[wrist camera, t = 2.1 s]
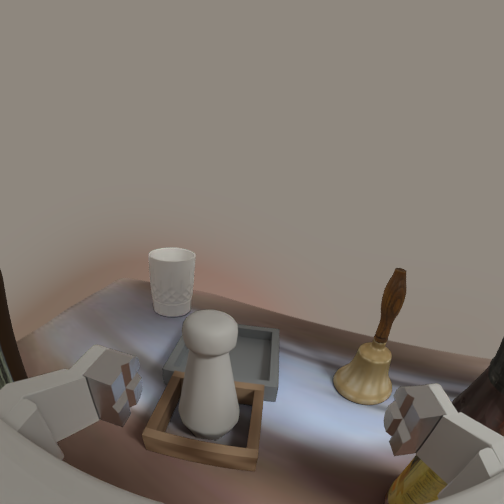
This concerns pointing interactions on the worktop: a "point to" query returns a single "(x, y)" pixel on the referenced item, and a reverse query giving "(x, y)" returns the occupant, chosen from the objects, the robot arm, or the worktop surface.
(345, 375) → the hand bell
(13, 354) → the olive oil
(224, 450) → the collar
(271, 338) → the tray
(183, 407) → the salt shaker
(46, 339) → the worktop surface
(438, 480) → the sauce bottle
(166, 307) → the white cup
